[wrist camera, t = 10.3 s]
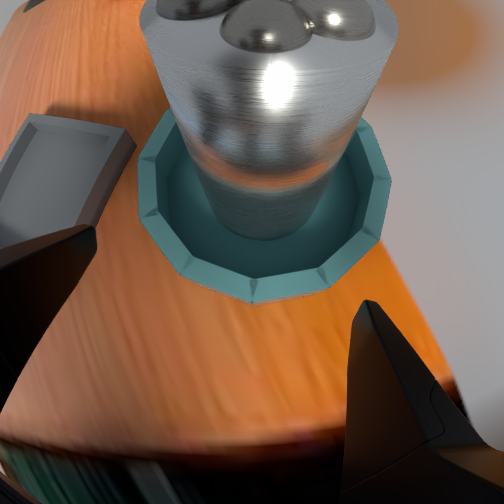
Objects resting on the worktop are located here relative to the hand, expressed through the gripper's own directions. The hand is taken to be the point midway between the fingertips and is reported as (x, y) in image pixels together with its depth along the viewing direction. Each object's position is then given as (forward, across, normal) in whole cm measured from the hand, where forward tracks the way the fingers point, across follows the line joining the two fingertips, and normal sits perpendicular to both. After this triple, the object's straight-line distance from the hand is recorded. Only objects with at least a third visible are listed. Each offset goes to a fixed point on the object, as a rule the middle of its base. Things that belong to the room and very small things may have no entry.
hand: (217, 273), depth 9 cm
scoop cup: (+9, 0, 0) cm, 9 cm away
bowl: (+10, 0, +1) cm, 10 cm away
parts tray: (+7, +15, +4) cm, 17 cm away
